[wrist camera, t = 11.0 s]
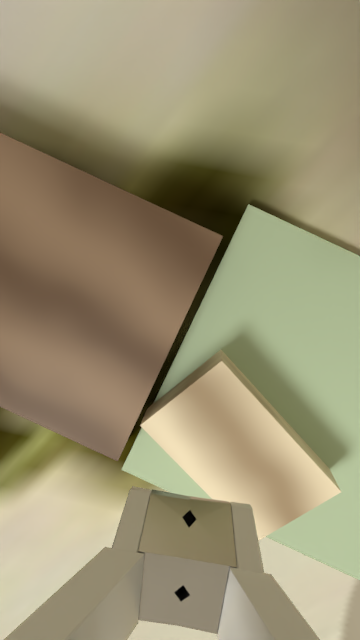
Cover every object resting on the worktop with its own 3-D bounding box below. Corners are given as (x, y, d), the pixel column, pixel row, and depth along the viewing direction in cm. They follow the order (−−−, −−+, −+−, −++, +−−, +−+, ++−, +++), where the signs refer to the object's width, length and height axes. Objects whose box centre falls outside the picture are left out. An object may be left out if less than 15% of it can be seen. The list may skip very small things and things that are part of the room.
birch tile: (251, 516, 20) (255, 542, 18) (146, 408, 19) (139, 425, 17) (329, 468, 18) (341, 491, 17) (221, 349, 17) (221, 360, 16)
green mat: (373, 582, 20) (375, 587, 20) (122, 466, 20) (121, 469, 20) (572, 355, 16) (578, 357, 15) (247, 204, 16) (248, 204, 15)
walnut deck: (127, 440, 20) (117, 461, 18) (-96, 336, 20) (-129, 346, 18) (221, 237, 16) (223, 236, 14) (-50, 110, 16) (-86, 92, 14)
